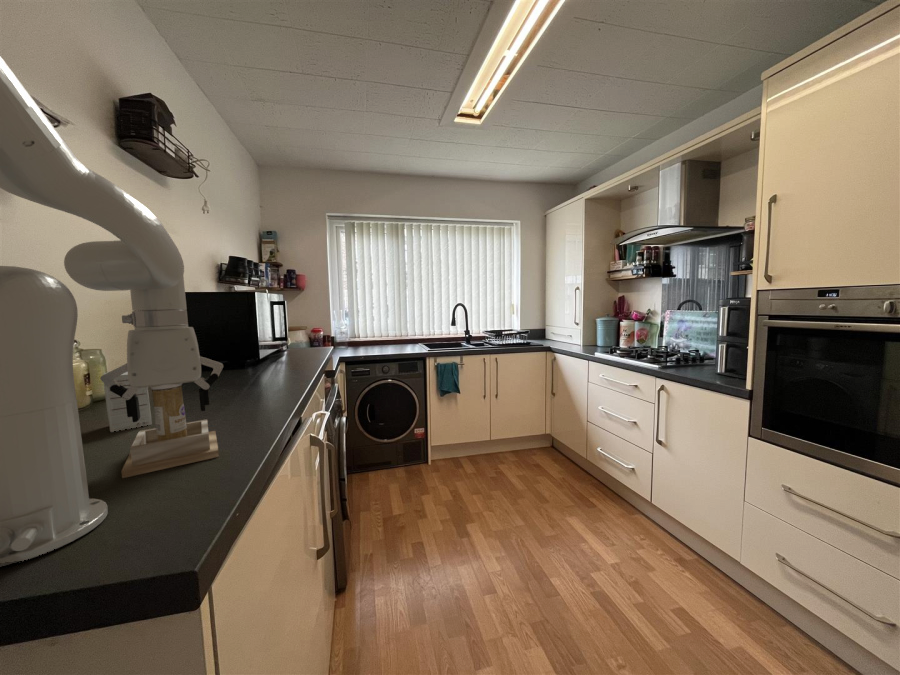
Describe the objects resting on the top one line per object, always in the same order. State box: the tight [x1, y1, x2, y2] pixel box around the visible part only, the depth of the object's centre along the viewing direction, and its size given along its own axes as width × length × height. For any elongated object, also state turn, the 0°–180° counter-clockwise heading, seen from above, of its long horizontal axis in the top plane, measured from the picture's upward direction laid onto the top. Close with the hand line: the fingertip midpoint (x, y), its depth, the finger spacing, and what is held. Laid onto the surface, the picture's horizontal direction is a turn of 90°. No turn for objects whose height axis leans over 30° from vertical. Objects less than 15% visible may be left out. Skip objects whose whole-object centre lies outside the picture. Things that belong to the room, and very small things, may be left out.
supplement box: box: [103, 372, 152, 433], centre depth 84 cm, size 7×7×13 cm
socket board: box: [121, 419, 220, 479], centre depth 66 cm, size 13×13×4 cm
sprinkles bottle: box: [149, 383, 187, 442], centre depth 65 cm, size 5×5×14 cm
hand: (171, 414), depth 66 cm, fingers open, 9 cm apart
